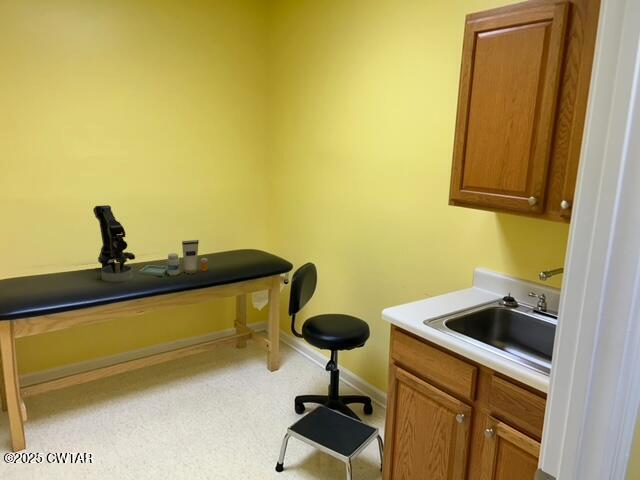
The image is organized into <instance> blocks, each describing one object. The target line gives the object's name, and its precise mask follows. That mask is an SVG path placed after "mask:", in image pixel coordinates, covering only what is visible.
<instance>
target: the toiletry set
mask: <svg viewBox="0 0 640 480" xmlns="http://www.w3.org/2000/svg"><path fill="white" fill-rule="evenodd" d="M199 240H200V239H193V240H182V241H181V243H182V257H183V272H185V273H184V274H186V273H194V274H196V273H197V272H196V271H197V265H198V264H197V263H198V261H197V260H198V252H199V243H200V242H199ZM208 262H209V259H208V258H207V257H203V258H201V259H200V271H201V270H202V271H201V272H203V271H205V272H207V271H208ZM180 263H181V261H180V258H179V254H178V253H176V252H175V253H173V252H172V253H169V254H167V259H166V267H167V274H166V275H168V274H169V275H168V276H178V275H179V274H180V273H181V272H180V271H181V269H180V267H181V265H180ZM206 270H207V271H206ZM195 272H196V273H195ZM177 274H178V275H177Z"/></svg>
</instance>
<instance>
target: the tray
mask: <svg viewBox="0 0 640 480" xmlns="http://www.w3.org/2000/svg"><path fill="white" fill-rule="evenodd" d="M166 273H167V265H166V266H165V265H164V266H163V265H154V264H153V265H152V264H147V265H145V266H144V267H143V268H141V269H140V270H138V274H139V275H148V276H149V275H151V276H156V277H157V276H163V275H164V274H165V275H167V274H166ZM165 275H164V276H165ZM164 276H163V277H164Z"/></svg>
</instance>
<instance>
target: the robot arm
mask: <svg viewBox="0 0 640 480" xmlns="http://www.w3.org/2000/svg"><path fill="white" fill-rule="evenodd" d="M92 210H93V214H94V217H95V218H96V219H97V220H98V223H99V228H100V234H101V241H102V246H101V248H100V253H99V255H98V258H97V262H98V263H99V264H101V269H102V268H104V267H105V266H110V265H111V267H112V270H113V272H114V273H115V267H114V263H120V272H121V271H122V268H123V265H125V263H127V262H128V260H131V261H133V260H135V259H136V256H135V254H134V253H133V252H128V251H125V250H127V248H128V242H127V241H125V240H124V238H126V235H127V234H126V231H125V228H124V227H123V226H122V223H121V222H120V221H118V220H117V219H116V217H115V215H114V214H113V211H112V207H111V205H96V206H94V207H93V209H92ZM124 251H125V252H124Z"/></svg>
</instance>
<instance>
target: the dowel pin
mask: <svg viewBox="0 0 640 480" xmlns="http://www.w3.org/2000/svg"><path fill="white" fill-rule="evenodd" d="M114 267H115V273H120V263H119V262H115V263H114Z"/></svg>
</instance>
